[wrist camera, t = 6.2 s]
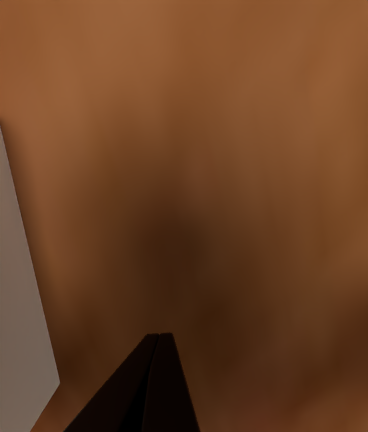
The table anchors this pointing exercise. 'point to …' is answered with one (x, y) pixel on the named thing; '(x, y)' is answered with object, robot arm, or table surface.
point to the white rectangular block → (20, 320)
